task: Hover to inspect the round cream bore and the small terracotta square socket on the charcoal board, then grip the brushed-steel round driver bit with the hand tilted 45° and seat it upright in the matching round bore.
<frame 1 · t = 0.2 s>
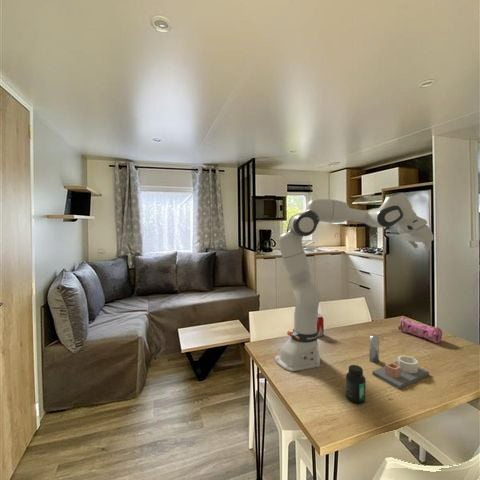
hand: (422, 248, 128), 54 cm above the table, tool tilted 30°, fingers open, 8 cm apart
steel bit: (374, 360, 130), on the table
pencil case: (419, 337, 155), on the table
soda can: (317, 335, 161), on the table
holder board: (400, 374, 117), on the table
supplement bottle: (355, 399, 102), on the table
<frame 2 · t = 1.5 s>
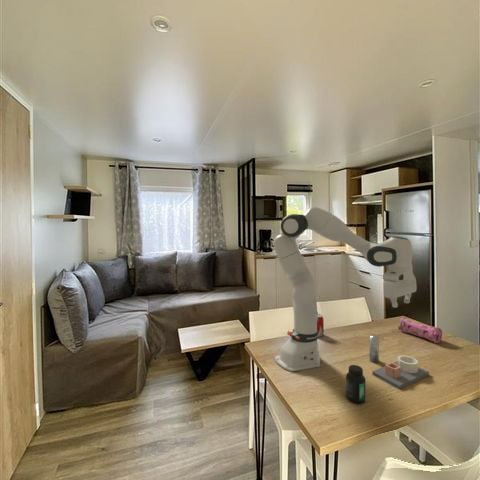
hand: (401, 305, 117), 30 cm above the table, tool pointing down, fingers open, 8 cm apart
nothing on the table moved.
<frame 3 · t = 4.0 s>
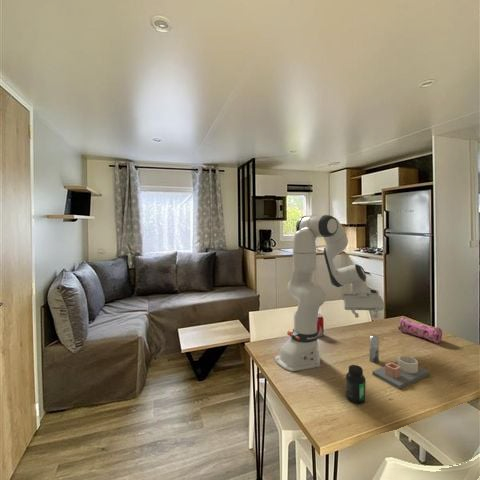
hand: (366, 317, 140), 17 cm above the table, tool tilted 45°, fingers open, 8 cm apart
nothing on the table moved.
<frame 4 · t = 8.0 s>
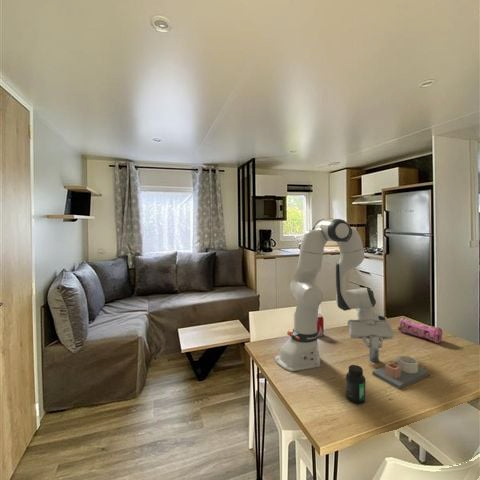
hand: (374, 347, 128), 7 cm above the table, tool tilted 45°, fingers closed on steel bit, 4 cm apart
steel bit: (374, 360, 130), on the table, touching gripper
everything else where it was.
when the fingers open (10 cm above the table, at t = 13.9 s): steel bit drops 1 cm, resting on holder board.
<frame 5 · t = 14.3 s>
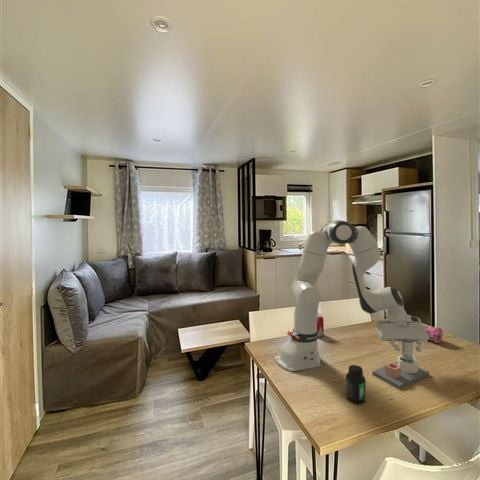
hand: (408, 350, 118), 10 cm above the table, tool tilted 45°, fingers open, 8 cm apart
steel bit: (407, 368, 119), point 2 cm above the table, touching holder board
everything else where it was.
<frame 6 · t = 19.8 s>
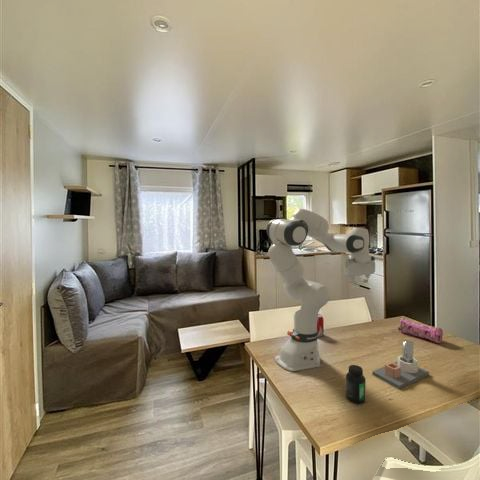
hand: (359, 283, 143), 34 cm above the table, tool pointing down, fingers open, 8 cm apart
nothing on the table moved.
at the end: steel bit 0.0 cm from the target spot on the holder board, point 1.5 cm above the holder board's base; steel bit tilted 1°; the gripper is holding nothing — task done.
